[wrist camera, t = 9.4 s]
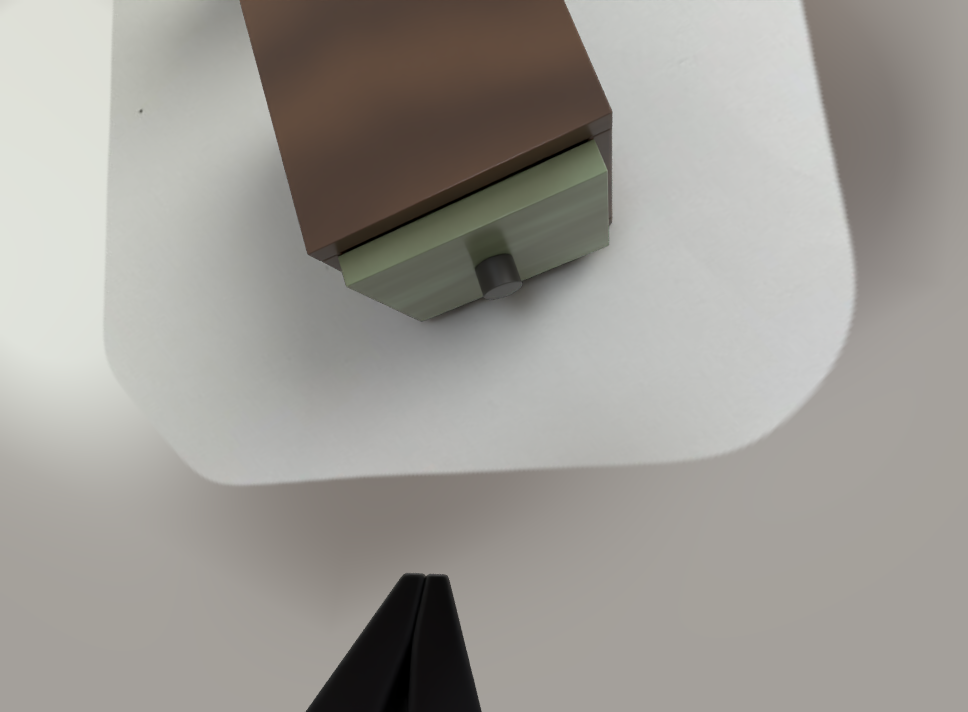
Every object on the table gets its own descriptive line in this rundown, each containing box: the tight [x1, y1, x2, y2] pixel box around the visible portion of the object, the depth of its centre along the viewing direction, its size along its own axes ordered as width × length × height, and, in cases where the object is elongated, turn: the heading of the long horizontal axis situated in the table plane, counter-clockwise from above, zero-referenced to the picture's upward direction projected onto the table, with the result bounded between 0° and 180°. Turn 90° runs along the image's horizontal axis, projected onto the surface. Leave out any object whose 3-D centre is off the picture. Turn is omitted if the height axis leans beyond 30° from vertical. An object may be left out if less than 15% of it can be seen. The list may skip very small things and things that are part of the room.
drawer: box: [338, 139, 609, 322], centre depth 20 cm, size 14×9×7 cm
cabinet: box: [240, 0, 612, 272], centre depth 20 cm, size 14×11×9 cm
